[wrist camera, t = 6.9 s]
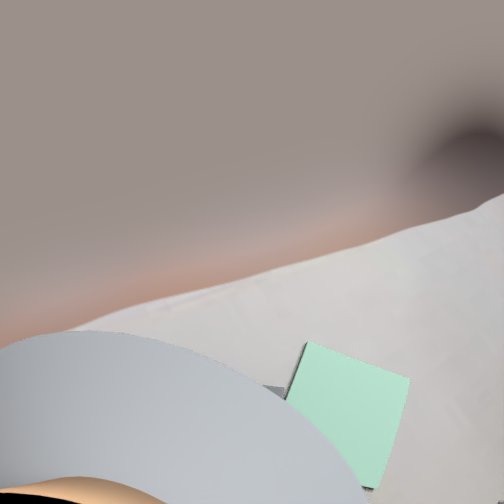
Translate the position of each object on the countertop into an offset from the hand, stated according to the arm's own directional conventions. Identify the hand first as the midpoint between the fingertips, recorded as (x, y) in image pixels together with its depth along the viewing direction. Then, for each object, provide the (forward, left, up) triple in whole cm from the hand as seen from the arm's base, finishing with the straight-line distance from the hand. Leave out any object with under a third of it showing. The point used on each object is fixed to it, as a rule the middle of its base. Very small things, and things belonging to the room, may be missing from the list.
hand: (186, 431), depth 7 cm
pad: (+9, -3, -13) cm, 16 cm away
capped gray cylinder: (-1, -1, -7) cm, 7 cm away
